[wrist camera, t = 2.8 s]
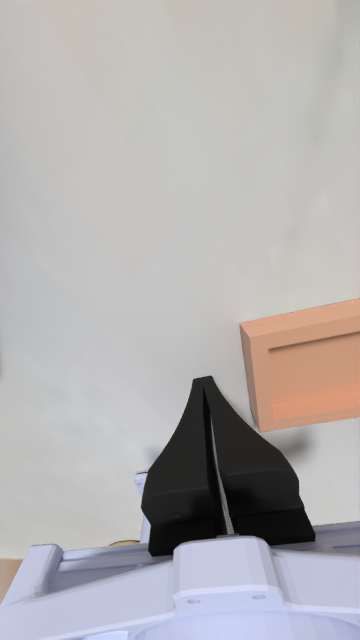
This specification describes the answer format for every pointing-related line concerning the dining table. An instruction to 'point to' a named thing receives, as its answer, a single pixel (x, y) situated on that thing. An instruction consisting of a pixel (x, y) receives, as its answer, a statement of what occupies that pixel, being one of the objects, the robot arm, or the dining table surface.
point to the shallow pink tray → (304, 366)
